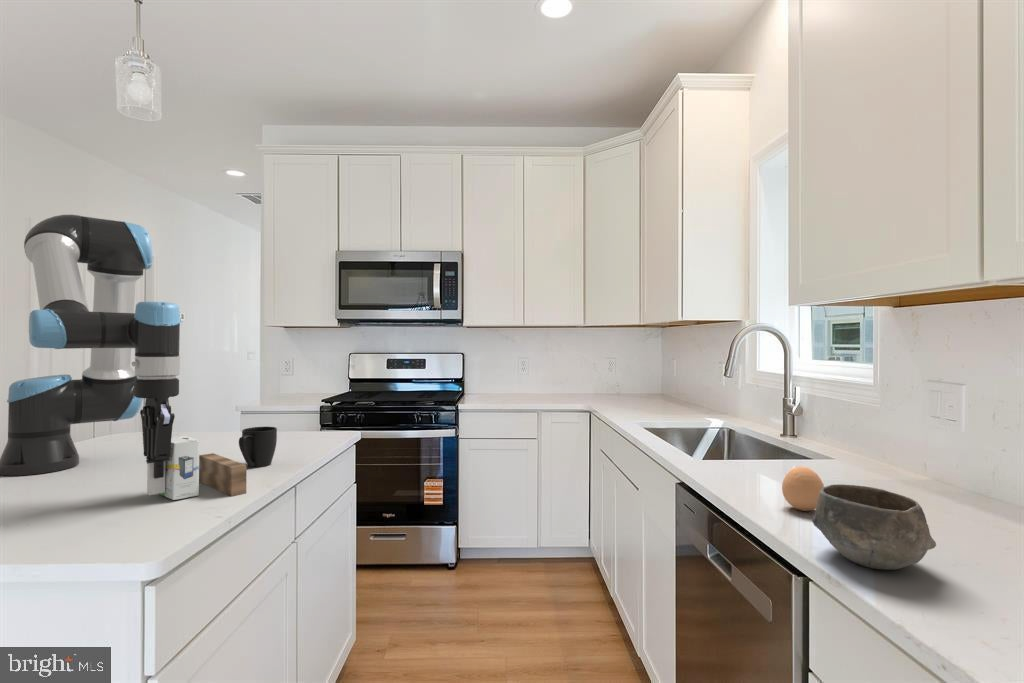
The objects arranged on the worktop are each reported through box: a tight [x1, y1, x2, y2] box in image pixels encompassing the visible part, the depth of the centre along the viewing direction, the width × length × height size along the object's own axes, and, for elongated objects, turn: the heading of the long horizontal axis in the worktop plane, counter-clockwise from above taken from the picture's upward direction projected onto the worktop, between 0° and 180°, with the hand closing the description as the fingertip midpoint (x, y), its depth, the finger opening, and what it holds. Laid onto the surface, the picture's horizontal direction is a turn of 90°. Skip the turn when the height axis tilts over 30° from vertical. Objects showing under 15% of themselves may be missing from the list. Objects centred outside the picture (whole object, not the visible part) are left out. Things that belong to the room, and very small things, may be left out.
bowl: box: [811, 483, 937, 570], centre depth 77 cm, size 14×15×10 cm
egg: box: [781, 465, 825, 512], centre depth 100 cm, size 7×7×8 cm
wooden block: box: [199, 452, 248, 497], centre depth 114 cm, size 18×3×6 cm, turn 51°
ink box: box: [158, 435, 200, 501], centre depth 107 cm, size 9×5×12 cm, turn 54°
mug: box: [238, 426, 278, 469], centre depth 132 cm, size 8×12×10 cm
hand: (156, 492), depth 104 cm, fingers closed
